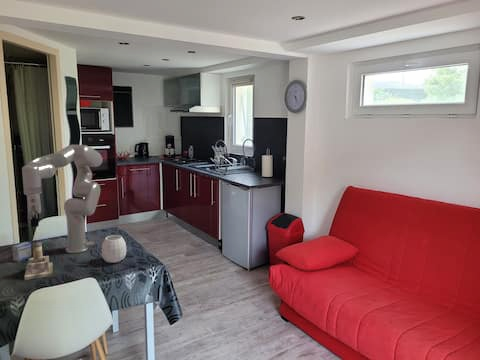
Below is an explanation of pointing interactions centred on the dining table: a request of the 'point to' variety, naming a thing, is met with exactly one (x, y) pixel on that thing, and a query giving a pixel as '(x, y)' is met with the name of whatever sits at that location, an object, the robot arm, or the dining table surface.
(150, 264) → the dining table surface
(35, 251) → the peg
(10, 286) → the dining table surface
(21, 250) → the medicine box
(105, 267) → the dining table surface
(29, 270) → the socket stand
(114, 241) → the white faceted vase
